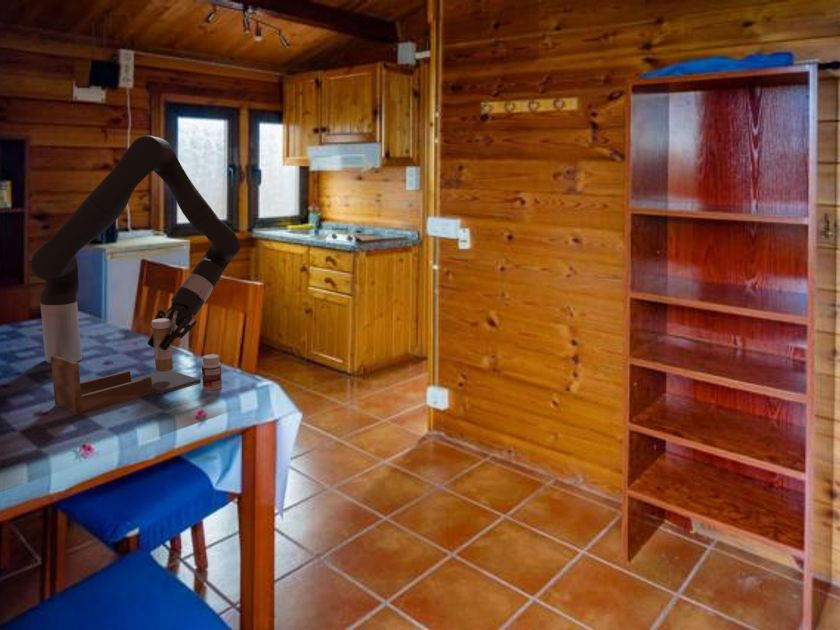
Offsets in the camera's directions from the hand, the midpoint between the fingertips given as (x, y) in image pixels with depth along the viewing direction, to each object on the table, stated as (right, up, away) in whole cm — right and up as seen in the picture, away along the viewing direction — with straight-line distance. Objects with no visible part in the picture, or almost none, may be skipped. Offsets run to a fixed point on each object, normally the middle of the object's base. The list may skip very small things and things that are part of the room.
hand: (156, 347), depth 173 cm
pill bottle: (+14, -11, +1) cm, 18 cm away
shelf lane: (-9, -12, -10) cm, 18 cm away
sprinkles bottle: (+1, -6, +3) cm, 7 cm away
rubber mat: (+1, -9, +4) cm, 10 cm away
